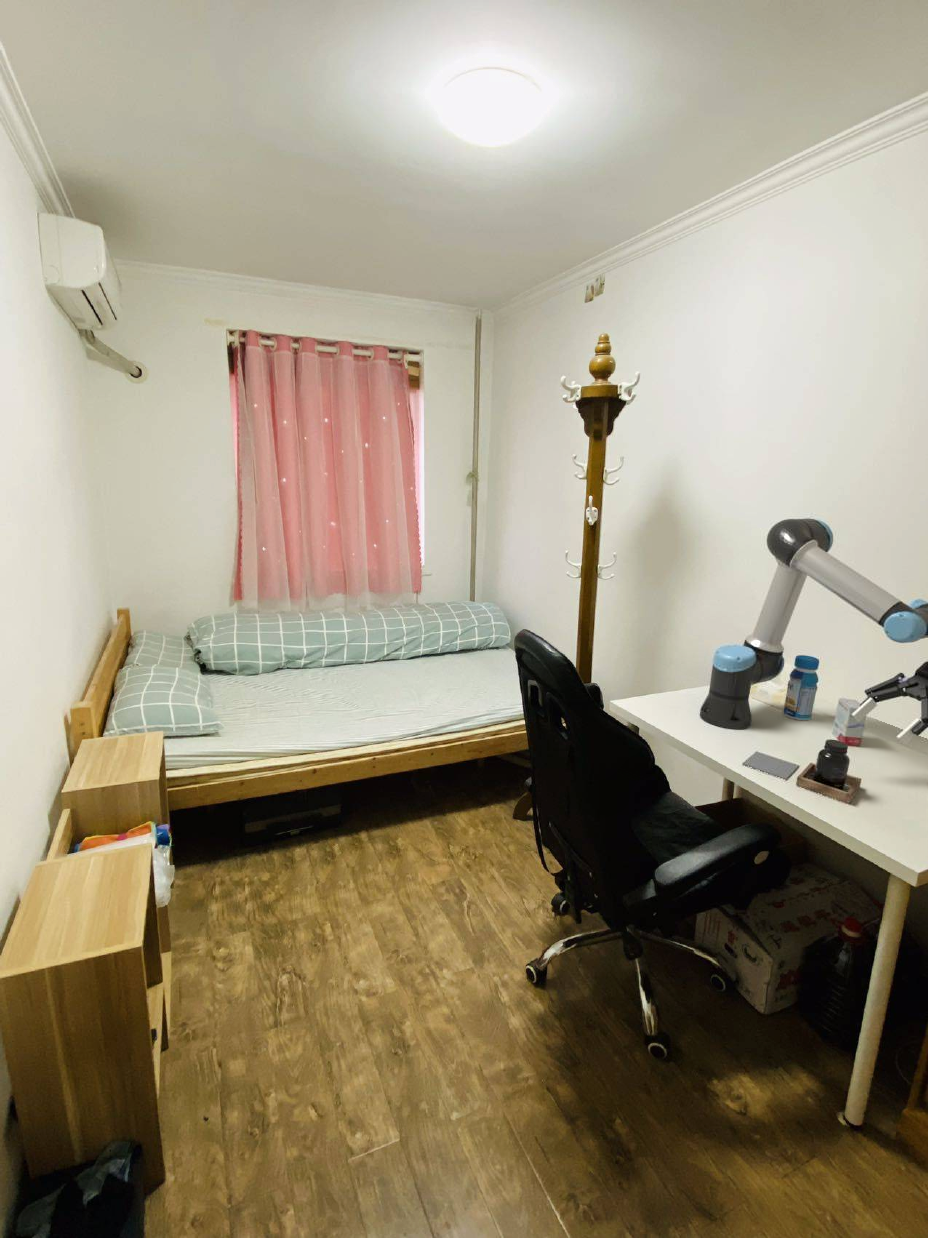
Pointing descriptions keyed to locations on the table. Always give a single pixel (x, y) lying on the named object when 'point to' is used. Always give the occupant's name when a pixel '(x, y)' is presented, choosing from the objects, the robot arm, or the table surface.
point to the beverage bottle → (802, 688)
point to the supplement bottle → (832, 764)
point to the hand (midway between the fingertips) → (876, 729)
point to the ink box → (848, 723)
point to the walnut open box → (828, 790)
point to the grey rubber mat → (771, 765)
